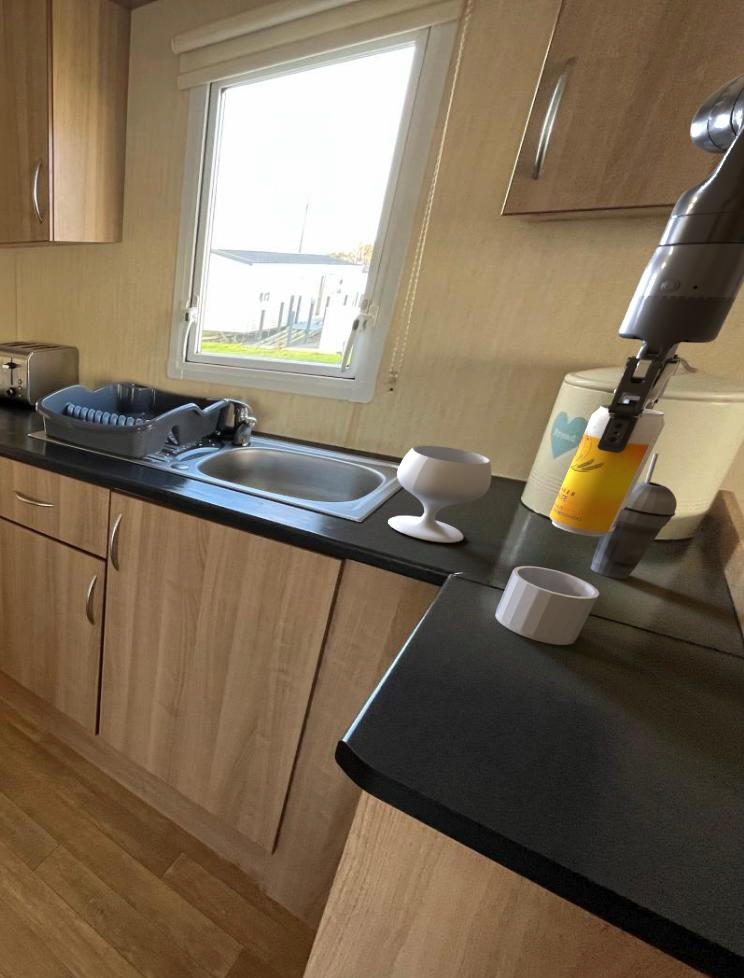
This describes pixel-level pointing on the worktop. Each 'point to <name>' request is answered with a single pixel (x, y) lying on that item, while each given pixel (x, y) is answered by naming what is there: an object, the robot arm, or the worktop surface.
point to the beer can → (603, 476)
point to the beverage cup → (635, 528)
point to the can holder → (546, 604)
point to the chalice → (440, 488)
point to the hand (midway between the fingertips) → (615, 446)
